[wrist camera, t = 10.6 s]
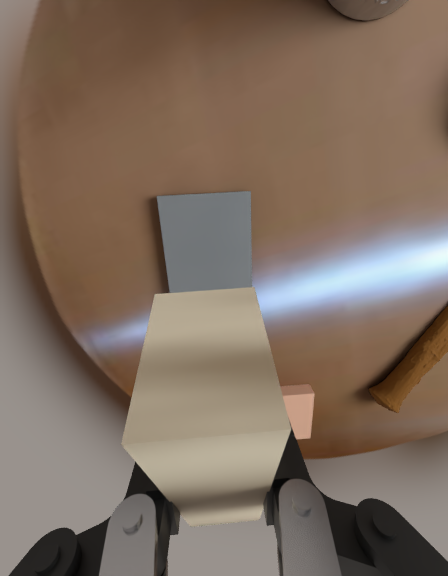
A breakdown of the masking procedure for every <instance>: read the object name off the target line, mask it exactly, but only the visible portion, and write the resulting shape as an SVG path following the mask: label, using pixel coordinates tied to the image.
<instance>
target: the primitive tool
mask: <svg viewBox="0 0 448 576" xmlns="http://www.w3.org/2000/svg"><path fill="white" fill-rule="evenodd" d="M447 352H448V305H447V307H446V308H445V309H444V310H443V311H442V312H441V314H440V315H439V316H438V317H437V319H436V320H435V321H434V322H433V324H432V325H431V326H430V327H429V328H428V329H427V330H426V331H425V333H424V334H423V335H422V336H421V338H420V339H419V340H418V341H417V342H416V343H415V345H414V346H413V347H412V348H411V349H410V351H409V352H408V353H407V355H406V357H405V358H404V359H403V360H402V361H401V362H400V363H399V364H398V366H397V367H396V368H395V369H394V370H393V371H392V372H391V373H390V374H389V375H388V376H387V378H386V379H385V380H384V381H382V382H381V383H379V384H378V385H376V386H373V387H371V388H369V392H370V394H371V395H372V397H373V398H374V399H375V401H376V402H377V403H378V404H379V405H382V406H383V407H385V408H387V409H388V410H390V411H393V412H396V413H399V410H400V406H401V404H402V401H403V400H404V399H405V398H406V396H407V395H408V394H409V393H410V391H411V390H412V388H413V387H414V386H415V385H416V384H418V383H419V382H420V380H421V377H422V376H424V375H425V374H426V373H427V372H428V371H429V370H430V369H431V368H432V367H433V366H434V365H435V364H436V363H437V362H438V361H440V359H441V358H442V357H443V356H444V355H445V354H446V353H447Z"/></svg>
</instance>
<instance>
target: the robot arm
mask: <svg viewBox="0 0 448 576" xmlns="http://www.w3.org/2000/svg"><path fill="white" fill-rule="evenodd" d="M328 1H329V2H330V4H331V5H332V6H333V7H334V8H336V9H337V10H338V11H339V12H341V13H342V14H343V15H346V16H348V17H350V18H353V19H357V20H366V21H367V20H373V19H379V18H382V17H384V16H386V15H388V14H391V13H393V12H394V11H395V10H397V9H398V8H399V7H401V6H402V5H404V4H405V3H406V2H407V1H408V0H328ZM288 419H289V418H288ZM289 422H290V421H289ZM290 426H291V423H290ZM263 506H264V512H265V518H266V523H267V526H268V525H274V528H275V533H276V538H277V554H278V570H279V576H448V561H446V560H445V559H444V557H443V556H442V555H441V554H440V553H438V551H437V550H435V548H434V547H433V546H431V545H430V543H429V542H428V541H427V540H426V539H425V538H424V537H422V535H421V534H420V533H419V532H418V531H417V530H416V529H415V528H414V527H413V526H412V525H410V524H409V522H407V520H405V519H404V518H403V517H402V516H401V515H400V514H399V513H398V512H397V511H396V510H395V509H394V508H393V507H391V506H390V505H389V504H387V503H385V502H383V501H380V500H378V499H372V498H370V499H365V500H363V501H361V502H360V503H359V504H358V506H354V505H350V504H346V503H343V502H340V501H336V500H333V499H331V498H329V497H327V496H326V495H324V494H323V493H322V492H321V491H320V490H319V489H318V488H317V487H316V486H315V485H314V484H313V482H312V480H311V478H310V476H309V473H308V471H307V468H306V465H305V462H304V460H303V457H302V454H301V451H300V448H299V446H298V443H297V440H296V437H295V435H294V432H293V429H292V427H291V431H290V434H289V437H288V440H287V443H286V446H285V448H284V451H283V454H282V457H281V460H280V463H279V465H278V468H277V471H276V474H275V477H274V480H273V482H272V485H271V488H270V491H269V492H267V493H266V496H265V499H264V502H263ZM179 521H180V511H179V510H178V509H177V507H176V506H175V505H174V504H173V502H172V501H170V502H169V500H168V499H167V498H166V497H165V496H164V495H163V493H162V492H161V491H160V490H159V489H158V487H157V486H156V485H155V484H154V483H153V482H152V480H151V479H150V478H149V477H148V476H147V474H146V473H145V472H144V471H143V470H142V469H141V467H140V466H139V465H138V464H137V463H136V462H135V465H134V469H133V472H132V476H131V479H130V483H129V486H128V490H127V493H126V496H125V498H124V500H123V501H122V502H121V503H120V504H119V505H118V506H117V508H116V509H115V511H114V512H113V514H112V516H111V517H109V518H108V519H107V520H105V521H104V522H102V523H100V524H99V525H96V526H94V527H92V528H90V529H88V530H86V531H84V532H82V533H80V534H78V535H75V533H74V532H73V531H72V530H71V529H68V528H59V529H56V530H53V531H51V532H50V533H48V534H46V535H45V536H43V537H42V538H41V539H40V540H39V541H38V542H37V543H36V544H35V545H34V546H33V547H32V548H31V549H30V550H29V552H28V553H27V554H26V555H25V556H24V558H23V559H22V560H21V561H20V563H19V564H18V565H17V566H16V567H15V569H14V570H13V571H12V572H11V574H10V575H9V576H168V560H167V556H168V548H169V540H170V535H175V534H178V531H179Z"/></svg>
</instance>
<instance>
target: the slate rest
mask: <svg viewBox="0 0 448 576" xmlns="http://www.w3.org/2000/svg"><path fill="white" fill-rule="evenodd" d="M157 202H158V210H159V217H160V224H161V232H162V239H163V246H164V254H165V261H166V269H167V276H168V283H169V291H170V293H178V292H192V291H206V290H220V289H234V288H248V287H252V258H251V191H244V192H226V193H207V194H188V195H170V196H157Z"/></svg>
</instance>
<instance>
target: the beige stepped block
mask: <svg viewBox="0 0 448 576" xmlns="http://www.w3.org/2000/svg"><path fill="white" fill-rule="evenodd" d="M290 431H291V426H290V422H289V419H288V415H287V411H286V407H285V403H284V399H283V395H282V392H281V388H280V384H279V380H278V376H277V372H276V369H275V365H274V361H273V357H272V353H271V349H270V346H269V342H268V338H267V334H266V330H265V326H264V323H263V319H262V315H261V311H260V307H259V303H258V300H257V296H256V292H255V288H254V287H248V288H234V289H220V290H206V291H192V292H178V293H165V294H155V296H154V301H153V305H152V310H151V314H150V319H149V323H148V327H147V332H146V336H145V341H144V345H143V350H142V354H141V359H140V363H139V368H138V372H137V376H136V381H135V385H134V390H133V394H132V399H131V403H130V408H129V412H128V417H127V421H126V426H125V430H124V435H123V439H122V444H121V445H122V446H123V447H124V448H125V450H126V451H127V452H128V453H129V454H130V455H131V457H132V458H133V459H134V460H135V462H136V463H137V464H138V465H139V466H140V467H141V469H142V470H143V471H144V472H145V473H146V474H147V476H148V477H149V478H150V479H151V480H152V482H153V483H154V484H155V485H156V486H157V487H158V489H159V490H160V491H161V492H162V493H163V495H164V496H165V497H166V498H167V499H168V500H169V502H170V501H172V502H173V504H174V505H175V506H176V507H177V509H178V510H179V511H180V515H181V516H182V517H183V518H184V519H185V521H186V522H187V523H188V524H189V525H190V526H191V527H195V526H205V525H215V524H223V523H234V522H243V521H254V520H259V519H260V516H261V513H262V511H263V508H264V506H263V502H264V499H265V496H266V493H267V492H269V491H270V488H271V485H272V482H273V480H274V477H275V474H276V471H277V468H278V465H279V463H280V460H281V457H282V454H283V451H284V448H285V446H286V443H287V440H288V437H289V434H290Z"/></svg>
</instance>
